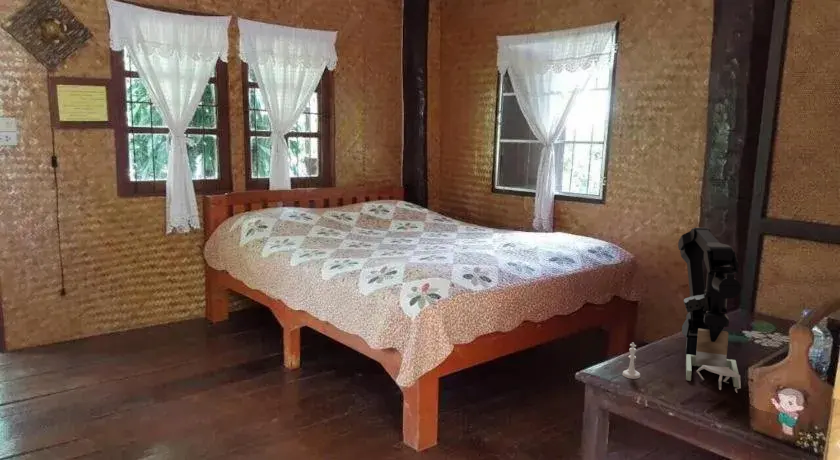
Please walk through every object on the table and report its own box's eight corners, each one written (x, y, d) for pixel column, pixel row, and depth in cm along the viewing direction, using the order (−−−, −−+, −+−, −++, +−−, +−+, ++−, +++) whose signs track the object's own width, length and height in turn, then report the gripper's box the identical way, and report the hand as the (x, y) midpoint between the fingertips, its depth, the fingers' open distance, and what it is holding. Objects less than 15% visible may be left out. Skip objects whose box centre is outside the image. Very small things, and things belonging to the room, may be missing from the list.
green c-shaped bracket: (686, 380, 178) (686, 370, 178) (685, 363, 190) (686, 354, 190) (738, 387, 173) (739, 377, 172) (734, 369, 185) (735, 360, 185)
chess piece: (626, 370, 185) (627, 338, 184) (642, 374, 182) (644, 342, 180) (619, 375, 181) (621, 343, 180) (636, 380, 178) (638, 346, 177)
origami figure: (743, 384, 175) (744, 368, 174) (740, 395, 168) (741, 378, 167) (697, 375, 182) (698, 359, 181) (692, 385, 175) (693, 369, 174)
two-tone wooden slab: (695, 364, 185) (698, 330, 183) (695, 361, 187) (698, 328, 185) (725, 368, 182) (728, 333, 180) (725, 365, 184) (728, 331, 182)
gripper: (686, 278, 192) (682, 327, 194) (686, 294, 175) (683, 347, 177) (726, 282, 188) (722, 331, 190) (731, 298, 171) (726, 352, 173)
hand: (712, 340), depth 183 cm, fingers closed on two-tone wooden slab, 2 cm apart
